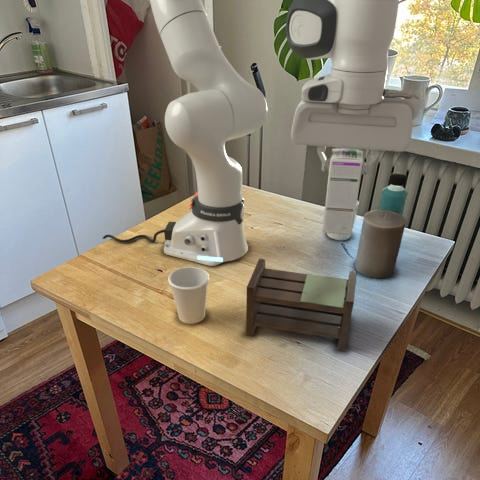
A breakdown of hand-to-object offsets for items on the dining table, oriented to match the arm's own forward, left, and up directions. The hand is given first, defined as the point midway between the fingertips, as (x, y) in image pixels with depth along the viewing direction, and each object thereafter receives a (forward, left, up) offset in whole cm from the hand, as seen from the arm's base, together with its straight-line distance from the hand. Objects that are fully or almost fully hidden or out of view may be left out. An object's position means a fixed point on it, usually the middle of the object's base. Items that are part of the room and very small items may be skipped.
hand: (344, 171), depth 82 cm
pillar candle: (+10, +19, -31) cm, 38 cm away
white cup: (0, +35, -31) cm, 47 cm away
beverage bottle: (+12, +31, -31) cm, 45 cm away
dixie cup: (-28, -11, -31) cm, 43 cm away
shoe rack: (-5, -9, -30) cm, 32 cm away
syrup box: (0, 0, -11) cm, 11 cm away
